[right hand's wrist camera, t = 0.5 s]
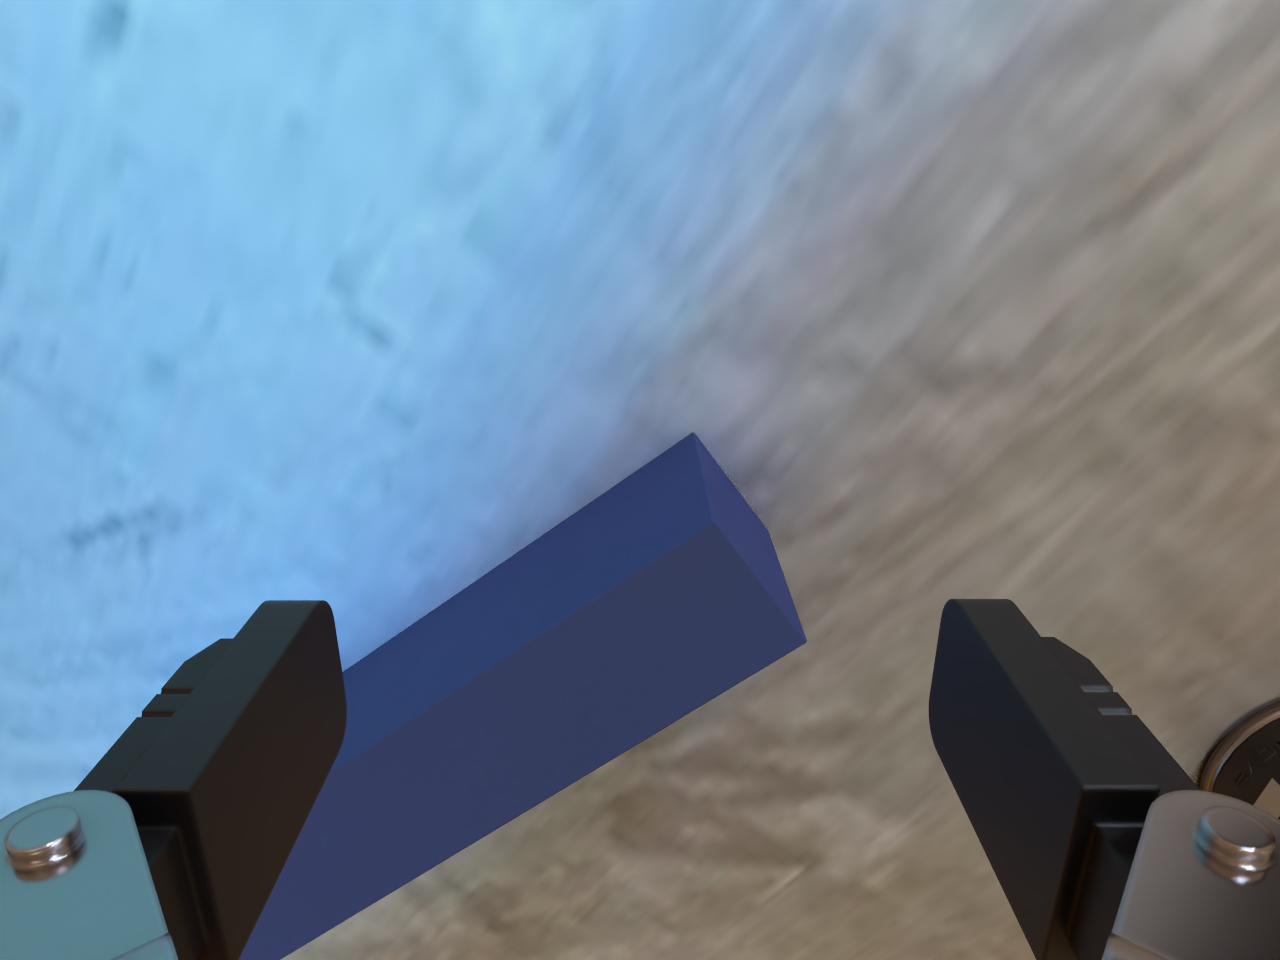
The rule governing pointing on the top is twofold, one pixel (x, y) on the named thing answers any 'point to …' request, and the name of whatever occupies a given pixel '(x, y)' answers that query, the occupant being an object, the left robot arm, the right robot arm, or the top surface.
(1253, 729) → the right robot arm
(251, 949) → the bar
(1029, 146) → the top surface
